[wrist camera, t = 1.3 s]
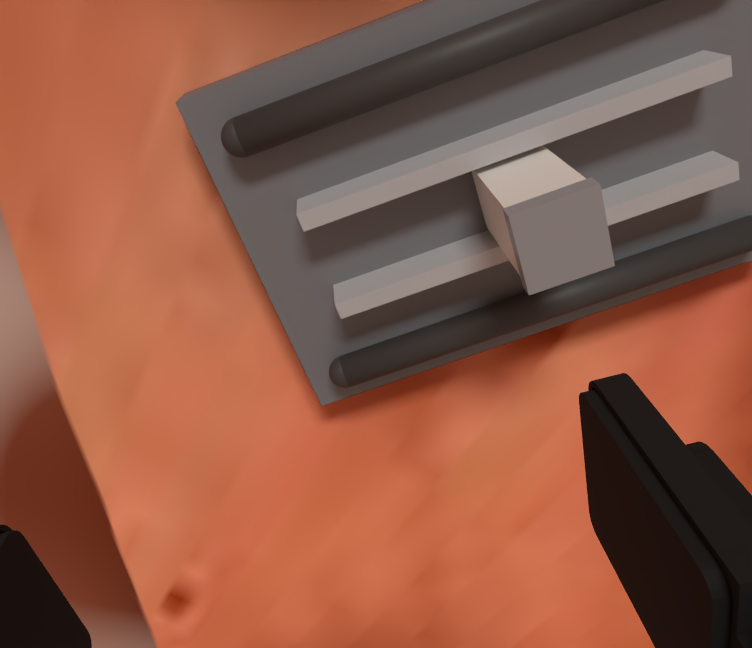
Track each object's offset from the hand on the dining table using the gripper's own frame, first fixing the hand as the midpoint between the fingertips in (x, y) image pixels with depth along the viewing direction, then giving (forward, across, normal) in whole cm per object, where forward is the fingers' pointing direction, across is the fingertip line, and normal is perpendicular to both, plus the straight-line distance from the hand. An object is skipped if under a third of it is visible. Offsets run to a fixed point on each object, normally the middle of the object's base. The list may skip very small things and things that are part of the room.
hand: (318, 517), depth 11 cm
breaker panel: (+22, -9, +2) cm, 24 cm away
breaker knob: (+20, -9, +2) cm, 21 cm away
